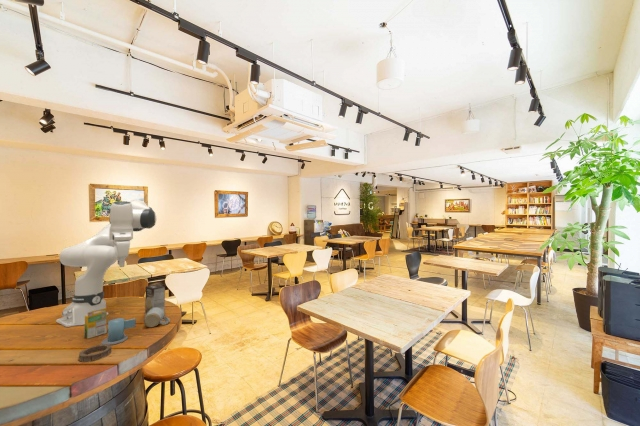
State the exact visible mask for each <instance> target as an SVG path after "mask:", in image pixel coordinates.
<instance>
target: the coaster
mask: <svg viewBox="0 0 640 426" xmlns="http://www.w3.org/2000/svg"><path fill="white" fill-rule="evenodd" d="M128 337H129V336H128V335H126V334H124V338H123V339H121V340H119V341H115V342H109V341H108V337H106V338H105V339H102V341H101V343H100V345H102V344H108V345H111V346H115V345H118V344H122V343H123V342H125V341H127V340H128Z"/></svg>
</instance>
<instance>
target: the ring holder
mask: <svg viewBox="0 0 640 426" xmlns="http://www.w3.org/2000/svg"><path fill="white" fill-rule="evenodd" d="M111 353H112V345H108V344H97V345H93V346H89V347H86V348H84V349H83V350H81V351H80V352H79V353H78V361H79V362H83V363H86V362H93V361H97V360H100V359H104V358H105V357H108V356H109V355H110V354H111Z"/></svg>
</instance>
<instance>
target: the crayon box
mask: <svg viewBox="0 0 640 426" xmlns="http://www.w3.org/2000/svg"><path fill="white" fill-rule="evenodd" d="M107 310H108V307H106V308H104V309H100V310H96V311H92V312H88V315H86V316H85V325H84V339H86V340H89V339H91V338H95V337H98V336H101V335H104V334H108V321H107V320H108V317H107V316H108V315H107ZM97 311H102V312H98V313H94V312H97ZM93 313H94V314H93Z"/></svg>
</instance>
